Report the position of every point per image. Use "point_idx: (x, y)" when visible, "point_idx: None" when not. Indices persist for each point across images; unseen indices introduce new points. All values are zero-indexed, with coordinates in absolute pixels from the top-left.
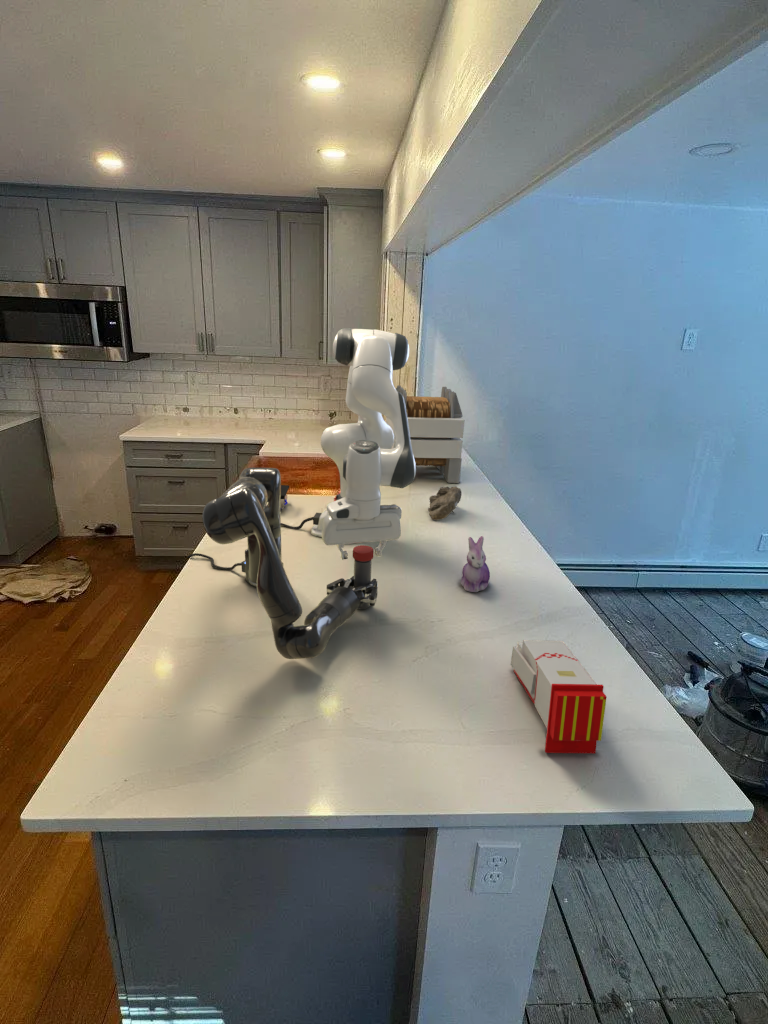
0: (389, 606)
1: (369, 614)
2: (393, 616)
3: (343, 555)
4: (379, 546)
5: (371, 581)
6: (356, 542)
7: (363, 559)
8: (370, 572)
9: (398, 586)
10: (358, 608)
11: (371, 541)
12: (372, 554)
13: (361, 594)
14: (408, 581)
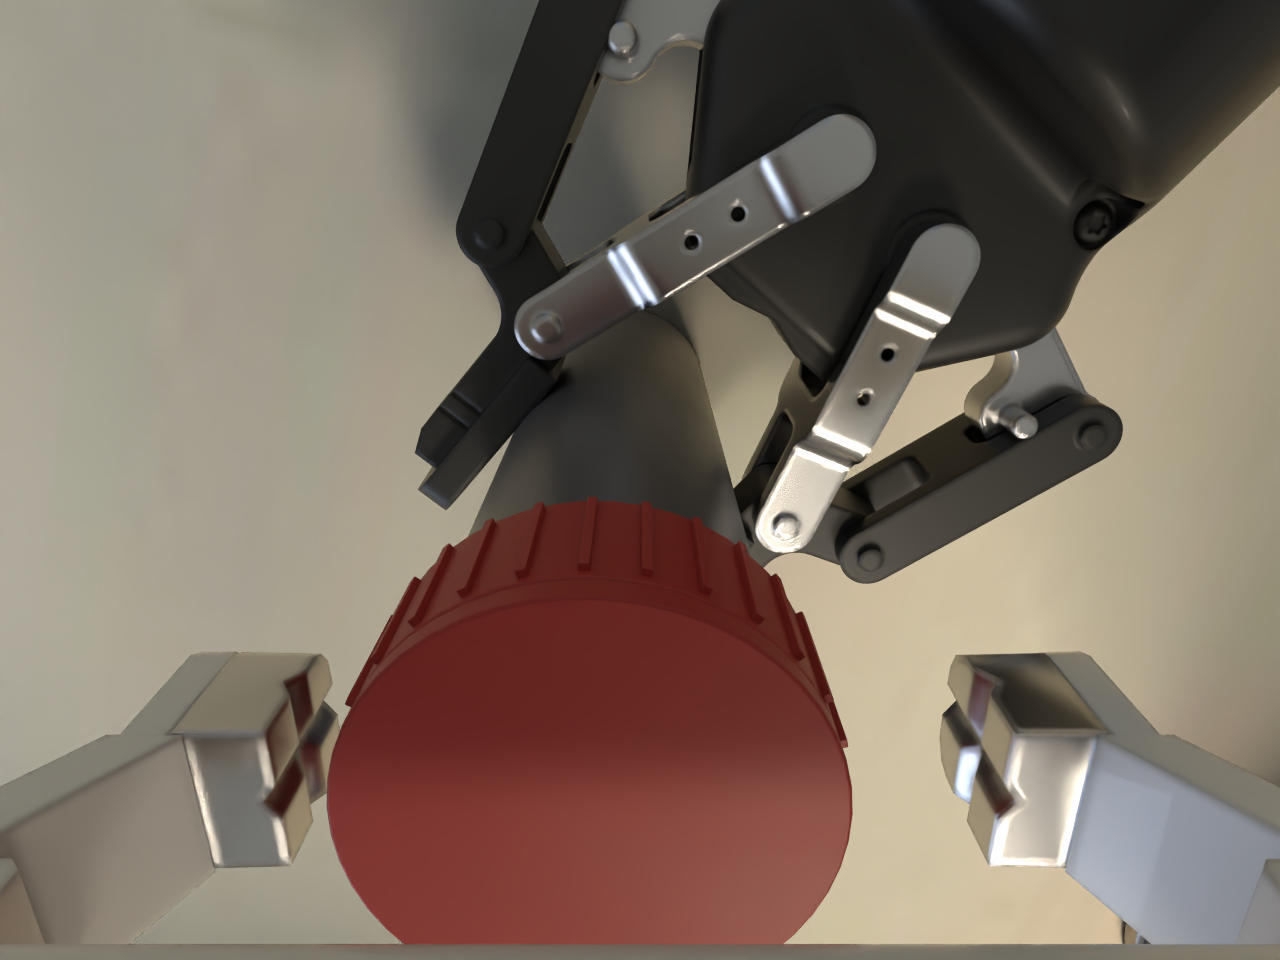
0: (356, 304)
1: (591, 195)
2: (355, 93)
3: (1106, 703)
4: (135, 867)
5: (501, 429)
6: (941, 955)
7: (652, 518)
8: (501, 472)
9: (204, 636)
10: (670, 324)
11: (301, 951)
12: (395, 632)
13: (748, 66)
14: (98, 697)
